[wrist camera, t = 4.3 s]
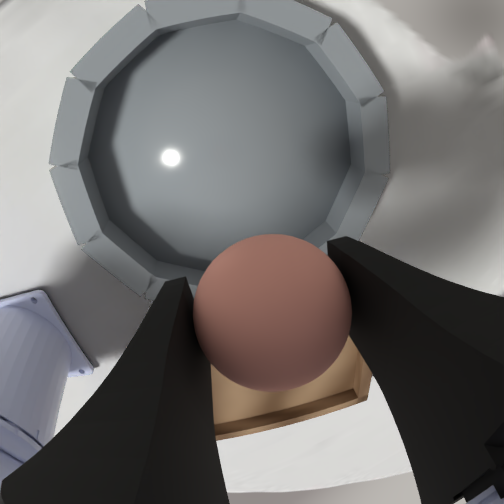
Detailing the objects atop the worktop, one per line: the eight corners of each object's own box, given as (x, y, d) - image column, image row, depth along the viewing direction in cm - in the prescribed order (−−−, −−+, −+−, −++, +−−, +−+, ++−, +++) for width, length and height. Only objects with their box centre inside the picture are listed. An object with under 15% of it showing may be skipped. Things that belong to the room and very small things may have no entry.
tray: (194, 424, 27) (196, 443, 25) (144, 340, 21) (142, 364, 19) (358, 382, 28) (367, 400, 26) (367, 285, 22) (381, 304, 20)
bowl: (127, 308, 19) (122, 333, 17) (41, 54, 11) (19, 51, 9) (368, 249, 20) (386, 269, 18) (346, -9, 12) (368, -18, 10)
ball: (210, 332, 11) (223, 434, 7) (174, 229, 9) (167, 329, 5) (323, 303, 11) (371, 392, 8) (314, 195, 9) (387, 271, 6)
